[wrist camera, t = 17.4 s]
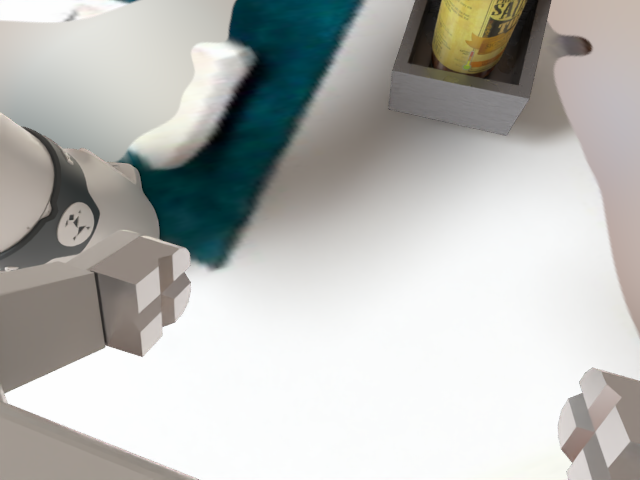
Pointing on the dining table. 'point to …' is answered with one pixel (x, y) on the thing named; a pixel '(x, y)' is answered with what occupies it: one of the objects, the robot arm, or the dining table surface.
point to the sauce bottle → (473, 34)
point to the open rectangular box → (463, 90)
